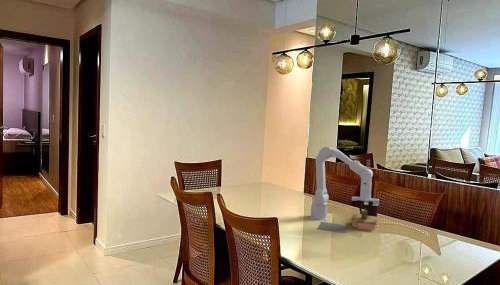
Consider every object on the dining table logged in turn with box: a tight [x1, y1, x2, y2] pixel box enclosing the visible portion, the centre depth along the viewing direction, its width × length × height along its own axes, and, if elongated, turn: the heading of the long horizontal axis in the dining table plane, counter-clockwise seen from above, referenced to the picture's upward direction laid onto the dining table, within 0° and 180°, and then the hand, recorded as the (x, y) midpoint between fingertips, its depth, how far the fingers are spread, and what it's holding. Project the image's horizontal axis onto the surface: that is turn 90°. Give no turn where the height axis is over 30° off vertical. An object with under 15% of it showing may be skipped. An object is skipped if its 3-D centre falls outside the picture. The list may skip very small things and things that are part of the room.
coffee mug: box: [362, 202, 380, 218], centre depth 215 cm, size 12×9×10 cm
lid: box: [351, 209, 378, 226], centre depth 200 cm, size 13×13×5 cm
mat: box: [316, 221, 349, 234], centre depth 197 cm, size 15×15×1 cm
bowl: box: [352, 222, 376, 231], centre depth 201 cm, size 12×12×4 cm
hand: (364, 214), depth 200 cm, fingers open, 3 cm apart
